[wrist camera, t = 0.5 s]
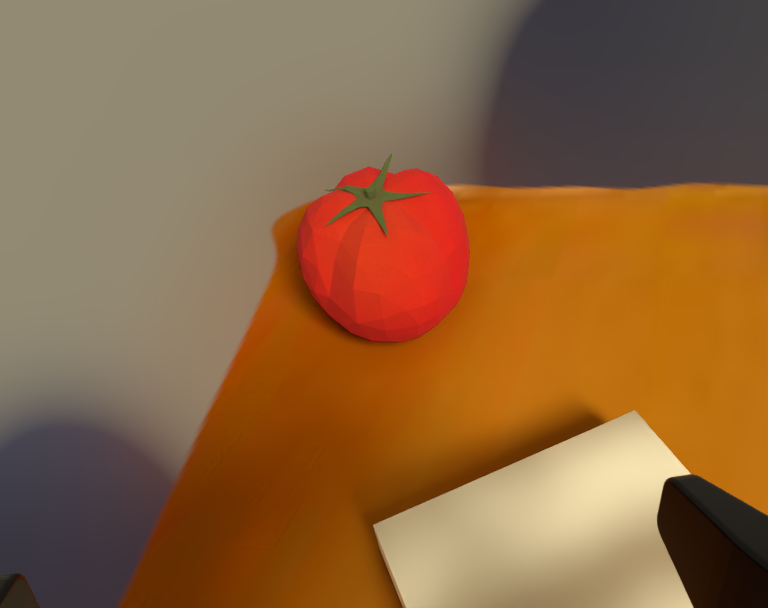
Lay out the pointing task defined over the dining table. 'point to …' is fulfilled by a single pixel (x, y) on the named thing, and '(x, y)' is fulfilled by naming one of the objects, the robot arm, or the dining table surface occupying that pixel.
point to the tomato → (385, 253)
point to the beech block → (545, 531)
